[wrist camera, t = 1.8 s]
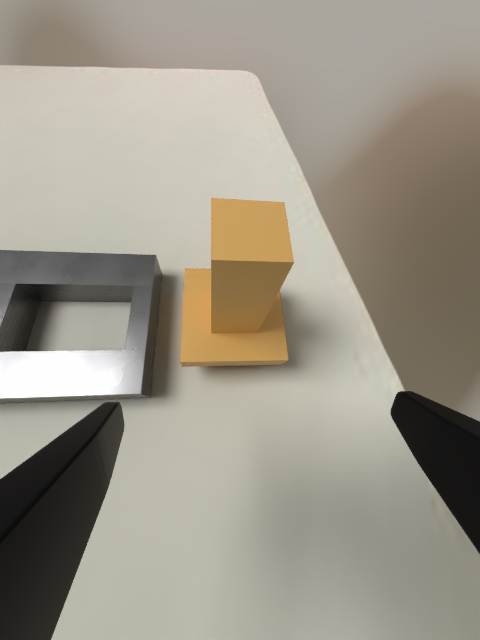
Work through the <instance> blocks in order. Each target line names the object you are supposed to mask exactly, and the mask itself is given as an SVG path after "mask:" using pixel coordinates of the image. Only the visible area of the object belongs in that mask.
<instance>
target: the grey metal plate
mask: <svg viewBox="0 0 480 640" xmlns="http://www.w3.org/2000/svg"><path fill="white" fill-rule="evenodd" d="M161 279H162V273H161V270H160V266H159V263H158V260H157V257H156V255H136V254H105V253H74V252H43V251H12V250H0V403H20V402H48V401H75V400H103V399H131V398H150V396H151V385H152V374H153V364H154V353H155V343H156V332H157V321H158V311H159V300H160V289H161ZM40 301H92V302H132V303H131V310H130V317H129V324H128V330H127V337H126V344H125V350H92V351H25V348H26V345H27V342H28V338H29V335H30V332H31V329H32V325H33V322H34V319H35V316H36V313H37V309H38V306H39V303H40Z"/></svg>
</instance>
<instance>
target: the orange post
mask: <svg viewBox="0 0 480 640" xmlns="http://www.w3.org/2000/svg"><path fill="white" fill-rule="evenodd" d="M293 263H294V260H293V254H292V248H291V241H290V235H289V229H288V223H287V216H286V210H285V204H284V202H269V201H252V200H236V199H219V198H211V269H188V268H185V275H184V295H183V314H182V334H181V354H180V363H181V365H182V367H188V366H235V365H281V364H284V363H285V362H287V361H288V352H287V344H286V336H285V328H284V320H283V312H282V305H281V297H280V288H281V286H282V284H283V282H284V281H285V279H286V277H287V275H288V273H289V271H290V269H291V267H292V265H293Z"/></svg>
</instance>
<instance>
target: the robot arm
mask: <svg viewBox="0 0 480 640" xmlns="http://www.w3.org/2000/svg"><path fill="white" fill-rule="evenodd" d="M391 416H392V419H393V421H394V422H395V424H396V426H397V428H398V429H399V431H400V433H401V435H402V436H403V438H404V440H405V442H406V443H407V445H408V447H409V449H410V450H411V452H412V454H413V456H414V457H415V459H416V461H417V462H418V464H419V465H420V467H421V468H422V470H423V471H424V473H425V474H426V476H427V477H428V479H429V480H430V482H431V483H432V485H433V486H434V488H435V489H436V490H437V492H438V493H439V495H440V496H441V498H442V499H443V501H444V502H445V504H446V505H447V507H448V508H449V510H450V511H451V512H452V514H453V515H454V517H455V518H456V520H457V521H458V523H459V524H460V526H461V527H462V529H463V530H464V532H465V533H466V534H467V536H468V537H469V539H470V540H471V542H472V543H473V545H474V546H475V548H476V549H477V551H478V552H479V554H480V422H479V421H477V420H475V419H473V418H470V417H468V416H466V415H463V414H461V413H459V412H457V411H454V410H452V409H450V408H448V407H446V406H443V405H441V404H439V403H437V402H434V401H432V400H430V399H428V398H425V397H423V396H421V395H419V394H416V393H414V392H411V391H401V392H398V393H397V394H396V397H395V400H394V402H393V405H392V408H391ZM123 432H124V419H123V413H122V407H121V404H120V403H119V402H106V403H103V404H102V405H101V406H99V407H98V408H96V409H95V410H94V411H92V412H91V413H90V414H88V415H87V416H86V417H84V418H83V419H82V420H80V421H79V422H77V423H76V424H75V425H73V426H72V427H71V428H69V429H68V430H67V431H65V432H64V433H63V434H61V435H60V436H58V437H57V438H56V439H54V440H53V441H52V442H50V443H49V444H48V445H46V446H45V447H44V448H42V449H41V450H39V451H38V452H37V453H35V454H34V455H33V456H31V457H30V458H29V459H27V460H26V461H25V462H23V463H22V464H20V465H19V466H18V467H16V468H15V469H14V470H12V471H11V472H10V473H8V474H7V475H6V476H4V477H3V478H1V479H0V640H51V638H52V635H53V633H54V630H55V627H56V625H57V622H58V620H59V617H60V614H61V612H62V609H63V606H64V604H65V601H66V598H67V596H68V593H69V590H70V588H71V585H72V583H73V580H74V577H75V575H76V572H77V569H78V567H79V564H80V561H81V559H82V556H83V553H84V551H85V548H86V546H87V543H88V540H89V538H90V535H91V532H92V530H93V527H94V524H95V522H96V519H97V516H98V514H99V511H100V509H101V506H102V503H103V501H104V498H105V495H106V492H107V490H108V487H109V484H110V480H111V477H112V473H113V469H114V465H115V462H116V458H117V454H118V450H119V447H120V443H121V439H122V435H123Z"/></svg>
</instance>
